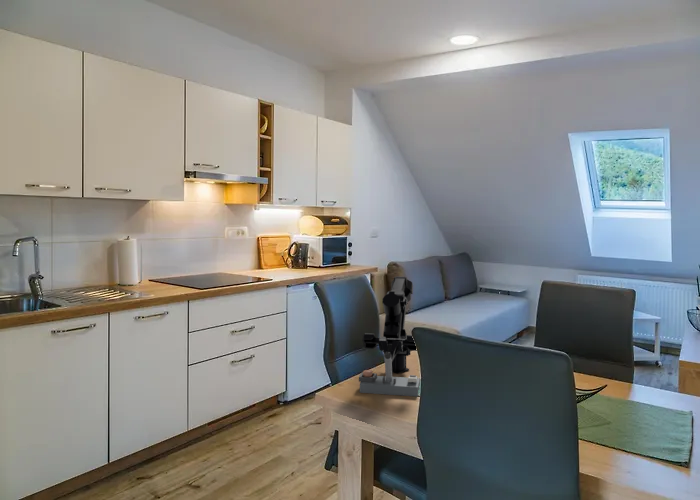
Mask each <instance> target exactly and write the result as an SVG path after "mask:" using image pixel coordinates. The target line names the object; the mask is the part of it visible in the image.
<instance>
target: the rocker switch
mask: <svg viewBox="0 0 700 500" xmlns="http://www.w3.org/2000/svg"><path fill="white" fill-rule="evenodd" d="M407 378H408V382H417V378H418V376H417V375H413V374H409V375H408V376H407Z"/></svg>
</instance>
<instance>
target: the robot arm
mask: <svg viewBox="0 0 700 500" xmlns="http://www.w3.org/2000/svg"><path fill="white" fill-rule="evenodd" d="M412 295H414V285H413V281H411V280H410V279H408V277H407V276H394V277H393V280H392V281H391V288H390V290H389V291H387V293H386V295H384V296H383V298H382V306H383V311H384V315H385V318H384V323H383V324H384V326H383V334H382V336H379V337H376V334H375V333H369V332H365V333H364V334H363V335H362V337H361V339H362V341H361V342H362V343H363V345H362V346H363V347H364V349H368V350H369V349H372V350H373V349H375V348H376V347H377V345H378V349H379V351H381V352H383V354H384V353H385V352H387V351H389V352H390V353H391V363H392V373H395V374H400V373H404V372H408V371H410V368H408V367H407V357H408V356H410V355H411V352H413V351H414V352H415V351H416V352H418V351H417V350H416V346H415V343H414V340H413V338H412V335H413V334H412V335H411V334H407V333H406V332H407V331H406V329H405V322H406V314H407V313H406V312H407V304H408V303H409V302H410V301H411V299H412Z"/></svg>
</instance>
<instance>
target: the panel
mask: <svg viewBox="0 0 700 500" xmlns="http://www.w3.org/2000/svg"><path fill="white" fill-rule="evenodd" d="M358 382H359V393H360V394H361V393H362V394H375V395H388V396H389V395H390V396H408V397H418V396H419V393H418V390H419V391H420V388H419V386H420V387H421V383H420V382H421V379H420V378H419V377H417V382H408V377H403V376H402V377H400V376H392V382H386V375H378V373H375V372H373V377H363V372H360V373H359V376H358Z"/></svg>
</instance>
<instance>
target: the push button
mask: <svg viewBox="0 0 700 500" xmlns="http://www.w3.org/2000/svg"><path fill="white" fill-rule="evenodd" d="M362 373H363V377H373V373H374V371H373V370H371V369H366V370H363V371H362Z"/></svg>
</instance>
